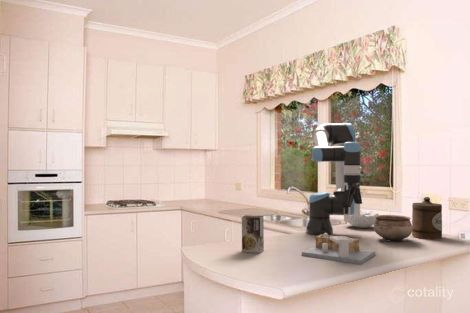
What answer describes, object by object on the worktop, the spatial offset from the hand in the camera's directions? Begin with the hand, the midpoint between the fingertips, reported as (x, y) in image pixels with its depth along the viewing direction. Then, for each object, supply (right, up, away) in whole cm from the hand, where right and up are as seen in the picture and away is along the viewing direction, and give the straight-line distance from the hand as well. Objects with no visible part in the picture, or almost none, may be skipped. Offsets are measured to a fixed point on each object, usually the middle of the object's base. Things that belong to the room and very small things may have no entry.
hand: (352, 219), depth 184 cm
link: (-9, -12, -7) cm, 17 cm away
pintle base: (-10, -14, -13) cm, 22 cm away
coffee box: (-47, -14, -5) cm, 50 cm away
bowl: (+24, -15, +60) cm, 66 cm away
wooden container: (+50, -15, +29) cm, 60 cm away
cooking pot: (+27, -15, +20) cm, 37 cm away
